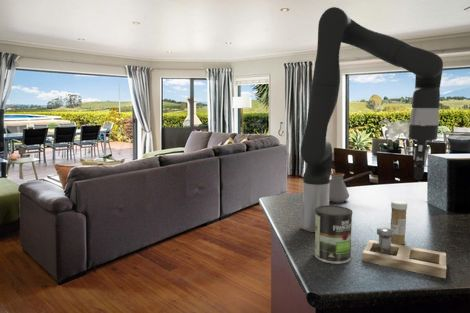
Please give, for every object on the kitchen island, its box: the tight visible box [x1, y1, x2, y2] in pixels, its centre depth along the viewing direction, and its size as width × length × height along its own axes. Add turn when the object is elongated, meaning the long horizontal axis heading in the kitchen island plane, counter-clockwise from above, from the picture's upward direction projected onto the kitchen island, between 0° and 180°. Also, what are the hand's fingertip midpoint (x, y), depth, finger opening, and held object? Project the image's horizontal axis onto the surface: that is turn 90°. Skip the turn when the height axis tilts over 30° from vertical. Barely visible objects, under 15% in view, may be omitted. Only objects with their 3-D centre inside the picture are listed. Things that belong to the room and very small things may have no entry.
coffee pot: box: [329, 170, 373, 203], centre depth 156 cm, size 21×12×15 cm, turn 71°
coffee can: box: [314, 204, 353, 265], centre depth 96 cm, size 10×10×14 cm
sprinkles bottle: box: [389, 200, 408, 245], centre depth 105 cm, size 5×5×14 cm
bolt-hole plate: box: [361, 239, 447, 279], centre depth 92 cm, size 20×11×2 cm, turn 58°
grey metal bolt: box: [376, 227, 394, 255], centre depth 95 cm, size 4×4×8 cm
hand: (418, 176), depth 101 cm, fingers open, 8 cm apart
